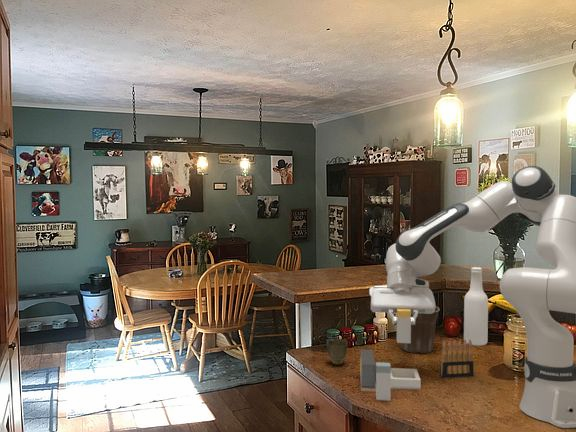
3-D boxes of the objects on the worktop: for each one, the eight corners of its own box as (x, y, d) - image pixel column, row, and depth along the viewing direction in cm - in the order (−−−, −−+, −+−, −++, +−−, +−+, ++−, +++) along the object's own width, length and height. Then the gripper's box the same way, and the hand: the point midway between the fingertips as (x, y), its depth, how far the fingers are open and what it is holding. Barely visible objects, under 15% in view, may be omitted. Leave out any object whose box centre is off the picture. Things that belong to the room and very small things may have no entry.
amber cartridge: (409, 340, 154) (409, 309, 153) (410, 343, 151) (410, 311, 150) (396, 340, 154) (396, 308, 154) (397, 342, 151) (397, 311, 151)
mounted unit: (373, 372, 162) (373, 349, 162) (376, 391, 147) (376, 365, 146) (359, 372, 163) (359, 348, 162) (360, 391, 147) (360, 365, 147)
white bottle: (464, 345, 191) (465, 269, 189) (463, 338, 199) (463, 265, 198) (488, 347, 188) (490, 269, 187) (486, 340, 197) (487, 266, 195)
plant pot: (446, 348, 187) (446, 306, 187) (427, 358, 175) (428, 314, 175) (407, 339, 198) (408, 300, 197) (387, 349, 186) (387, 307, 185)
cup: (346, 368, 166) (346, 345, 166) (325, 366, 168) (325, 343, 167) (348, 360, 174) (348, 338, 173) (327, 359, 175) (327, 337, 175)
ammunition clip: (442, 378, 157) (442, 341, 157) (439, 375, 159) (440, 339, 159) (473, 376, 159) (474, 340, 158) (471, 374, 160) (471, 338, 160)
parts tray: (416, 378, 157) (416, 368, 157) (420, 389, 148) (420, 380, 148) (386, 376, 158) (386, 367, 158) (389, 388, 149) (389, 378, 149)
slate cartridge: (389, 396, 143) (389, 362, 143) (390, 400, 140) (390, 366, 140) (375, 395, 144) (375, 362, 143) (376, 400, 141) (376, 365, 140)
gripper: (369, 280, 160) (370, 317, 151) (433, 281, 157) (438, 319, 148) (368, 291, 165) (369, 327, 155) (431, 292, 162) (435, 329, 153)
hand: (403, 323), depth 152 cm, fingers closed on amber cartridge, 4 cm apart
